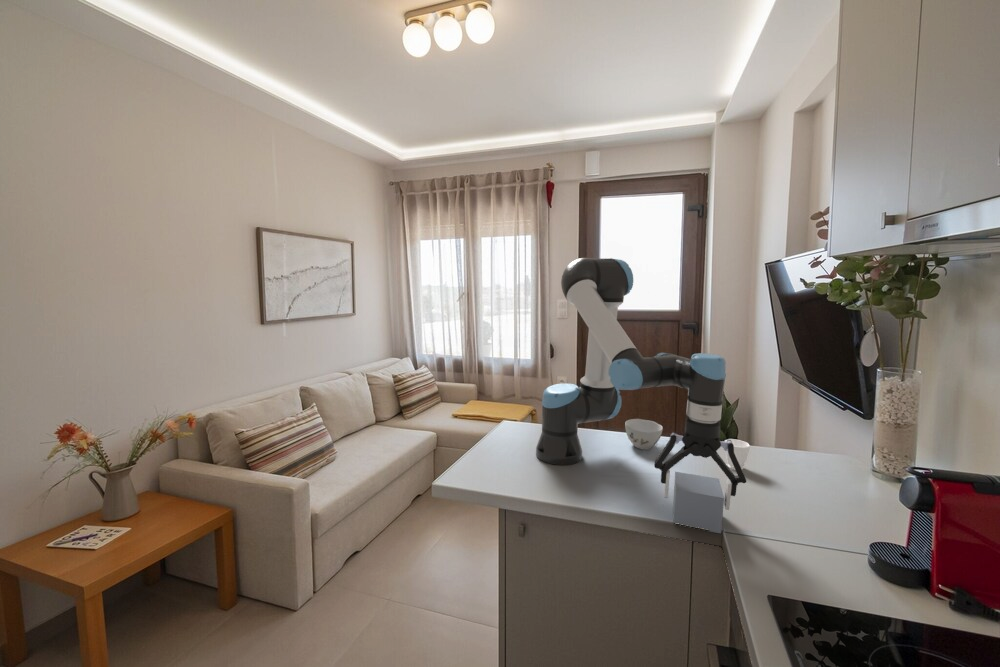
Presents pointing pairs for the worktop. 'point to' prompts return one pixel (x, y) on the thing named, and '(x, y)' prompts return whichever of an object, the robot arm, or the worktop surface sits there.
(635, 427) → the teacup
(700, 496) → the matte grey cuboid
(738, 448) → the cup
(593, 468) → the worktop surface
